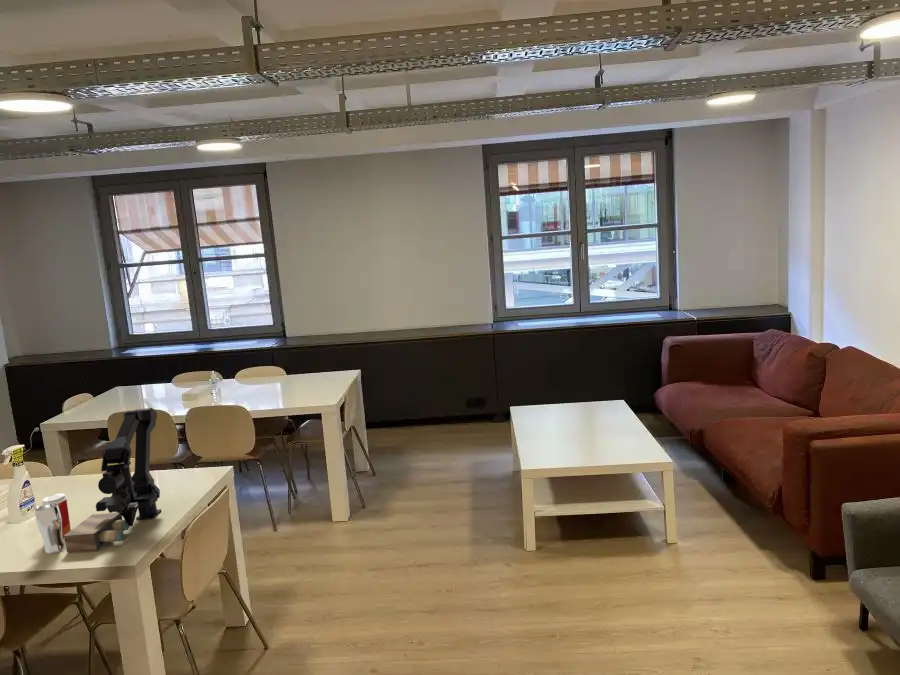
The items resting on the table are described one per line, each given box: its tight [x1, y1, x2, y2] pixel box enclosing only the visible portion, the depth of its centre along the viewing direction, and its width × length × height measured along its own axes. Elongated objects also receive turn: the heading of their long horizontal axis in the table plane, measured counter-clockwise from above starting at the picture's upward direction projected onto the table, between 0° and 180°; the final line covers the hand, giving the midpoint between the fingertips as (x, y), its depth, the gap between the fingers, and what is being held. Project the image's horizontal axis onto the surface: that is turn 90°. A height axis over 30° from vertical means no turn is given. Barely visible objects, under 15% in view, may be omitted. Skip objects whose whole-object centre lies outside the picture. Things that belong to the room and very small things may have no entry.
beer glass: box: [34, 503, 66, 555], centre depth 221 cm, size 7×7×15 cm
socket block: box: [63, 512, 123, 554], centre depth 226 cm, size 16×10×6 cm, turn 176°
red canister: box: [41, 492, 72, 539], centre depth 233 cm, size 8×8×14 cm
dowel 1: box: [98, 530, 125, 543], centre depth 222 cm, size 4×9×4 cm, turn 86°
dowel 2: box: [112, 519, 131, 532], centre depth 230 cm, size 4×9×4 cm, turn 86°
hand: (131, 525), depth 229 cm, fingers closed
